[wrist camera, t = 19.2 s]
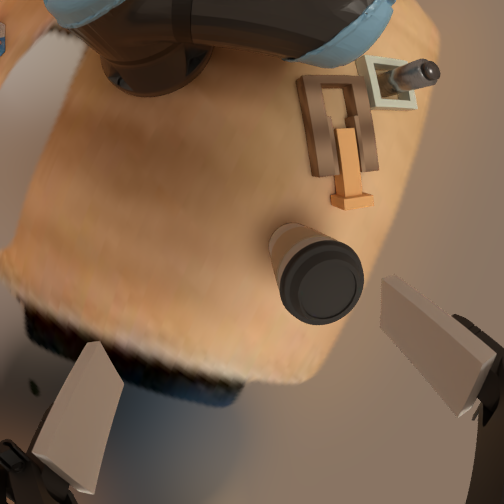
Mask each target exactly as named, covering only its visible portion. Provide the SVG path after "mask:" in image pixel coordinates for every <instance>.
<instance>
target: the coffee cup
mask: <svg viewBox="0 0 504 504" xmlns="http://www.w3.org/2000/svg"><path fill="white" fill-rule="evenodd" d="M269 253H270V257H271V262H272V266H273V270H274V274H275V277H276V281H277V285H278V288H279V291H280V297H281V300H282V303H283V305H284V306H285V308H286V309H287V310H288V312H289V313H291V314H292V315H293V316H295V317H296V318H297V319H299V320H300V321H302V322H305V323H307V324H312V325H325V324H329V323H333V322H335V321H337V320H339V319H341V318H343V317H344V316H345V315H347V314H348V313H349V312H350V311H351V310H352V309H353V307H354V306H355V305H356V303H357V302H358V300H359V298H360V296H361V293H362V290H363V285H364V273H363V269H362V265H361V262H360V259H359V257H358V256H357V254H356V253H355V252H354V250H353V249H352V248H350V247H349V246H348V245H346V244H344V243H342V242H338V241H337V240H335V239H333V238H331V237H329V236H327V235H325V234H323V233H320V232H318V231H316V230H314V229H312V228H308V227H305V226H303V225H301V224H298V223H288V224H285V225H283V226H281V227H279V228H278V229H277V230H276V231H275V232H274V233H273V235H272V236H271V239H270V242H269Z"/></svg>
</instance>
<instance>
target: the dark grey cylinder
mask: <svg viewBox="0 0 504 504" xmlns="http://www.w3.org/2000/svg"><path fill="white" fill-rule="evenodd" d="M439 77H440V70H439V68H438V66H437V65H436V64H435V63H434V62H432V61H428V60H426V59H419V60H416V61H413V62H411V63H408V64H405V65H403V66H400V67H398V68H395V69H393V70H390V71H388V72H385V73H383V74H381V75H378V76H377V80H378V85H379V89H380V94H381V97H388V96H392V95H395V94H399V93H403V92H407V91H411V90H415V89H419V88H423V87H427V86H431V85H435V84H436V82H437V79H439Z"/></svg>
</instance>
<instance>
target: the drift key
mask: <svg viewBox="0 0 504 504" xmlns="http://www.w3.org/2000/svg"><path fill="white" fill-rule="evenodd" d="M333 131H334V137H335V144H336V150H337V158H338V165H339V173H340V175H334V177H335V186H336V194H335V195H331V203H332V205H333V206H335V207H338V208H340V209H343V210H351V209H357V208H363V207H369V206H374V200H373V195H370V194H367V193H363V192H362V185H361V175H360V166H359V157H358V150H357V143H356V136H355V129H354V128H342V129H334V130H333Z"/></svg>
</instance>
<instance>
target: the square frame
mask: <svg viewBox="0 0 504 504" xmlns="http://www.w3.org/2000/svg"><path fill="white" fill-rule="evenodd" d="M355 62H356V66H357V71H358V75H359V76H364V79H365V84H366V88H367V93H368V98H369V103H370V109H371V110H400V111H409V110H415V109H418V108H417V102H416V97H415V92H414V90H411V91H407V92H403V93H399V94H398V98H399V100H393V99H381V94H380V89H379V85H378V80H377V76H376V72H375V69H379V70H388V71H390V70H393V69H395V68H398V67H400V66H403V65H405V64H408V63H407V61H404V60H399V59H392V58H386V57H378V56H370V55H363V56H362V57H360V58H358V59H357V60H355Z"/></svg>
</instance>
